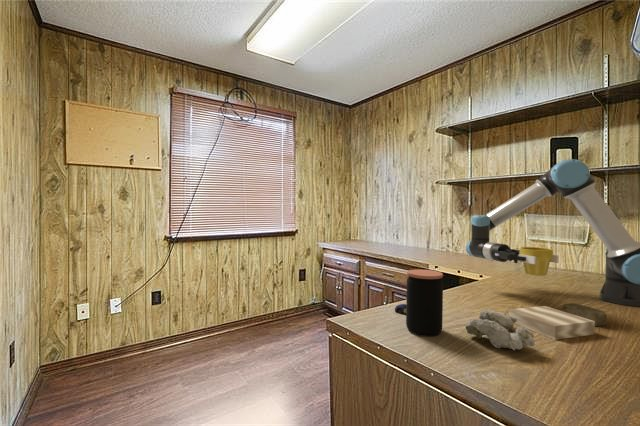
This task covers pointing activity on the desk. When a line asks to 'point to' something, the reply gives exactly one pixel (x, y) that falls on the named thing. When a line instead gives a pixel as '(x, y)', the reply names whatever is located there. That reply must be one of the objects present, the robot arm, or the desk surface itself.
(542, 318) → the birch block
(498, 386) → the desk surface
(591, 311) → the stone block
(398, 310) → the race car
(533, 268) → the plant pot
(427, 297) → the coffee jar
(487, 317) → the mineral
